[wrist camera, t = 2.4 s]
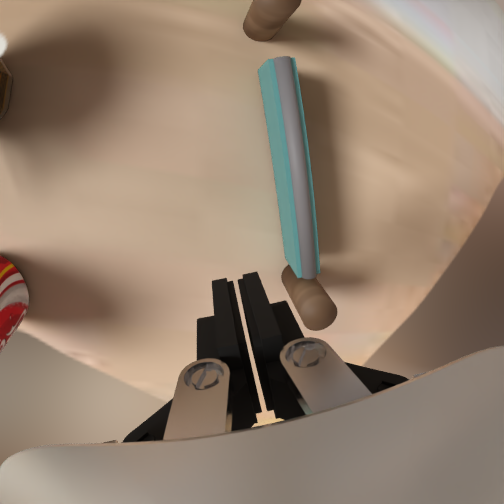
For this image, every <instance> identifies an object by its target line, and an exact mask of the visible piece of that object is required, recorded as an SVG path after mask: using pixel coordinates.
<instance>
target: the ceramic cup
mask: <svg viewBox="0 0 504 504" xmlns="http://www.w3.org/2000/svg"><path fill="white" fill-rule="evenodd" d="M12 80H13V77H12V75H11V73H10V72H9V70H8V69H7V67H6V65H5V64H4V62H3V61H2V59H1V58H0V119H1V118H2V116H3V115H4V114H5V113H6V111H7V110H8V105H9V99H10V92H11V86H12Z"/></svg>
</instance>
